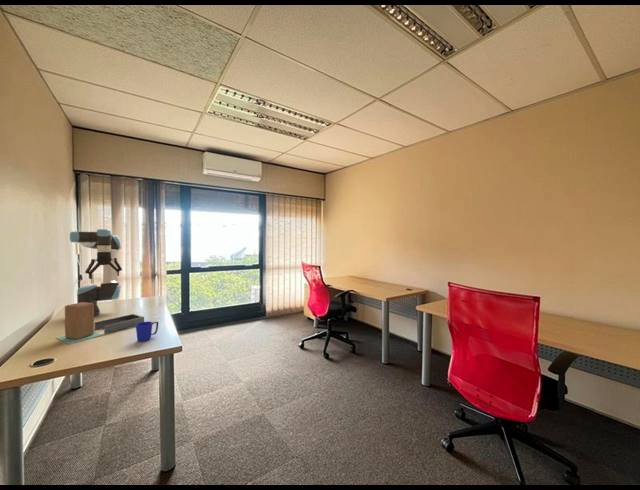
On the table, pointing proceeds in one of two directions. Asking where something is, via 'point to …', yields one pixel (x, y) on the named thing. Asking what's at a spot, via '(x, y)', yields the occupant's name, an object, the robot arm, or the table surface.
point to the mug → (145, 330)
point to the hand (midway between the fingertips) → (104, 282)
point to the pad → (70, 341)
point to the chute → (118, 323)
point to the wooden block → (79, 320)
